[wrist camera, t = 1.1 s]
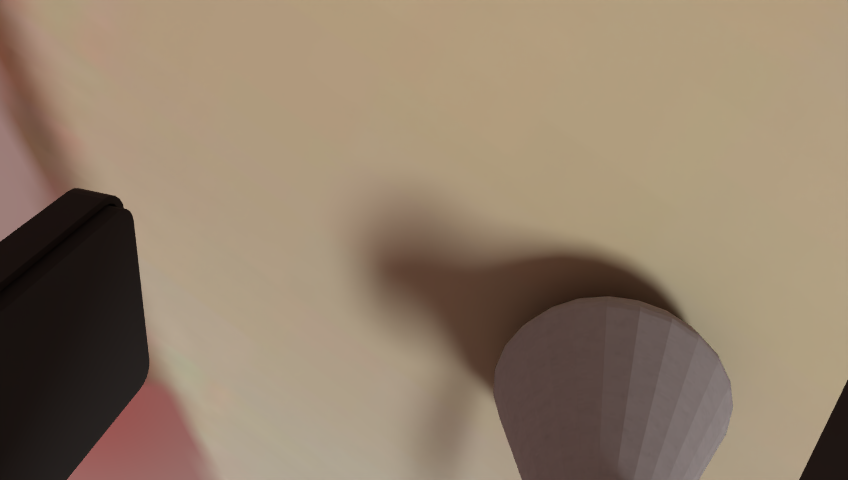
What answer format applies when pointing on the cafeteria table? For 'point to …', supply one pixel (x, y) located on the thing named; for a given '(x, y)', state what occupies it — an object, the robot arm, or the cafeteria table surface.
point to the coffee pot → (611, 394)
